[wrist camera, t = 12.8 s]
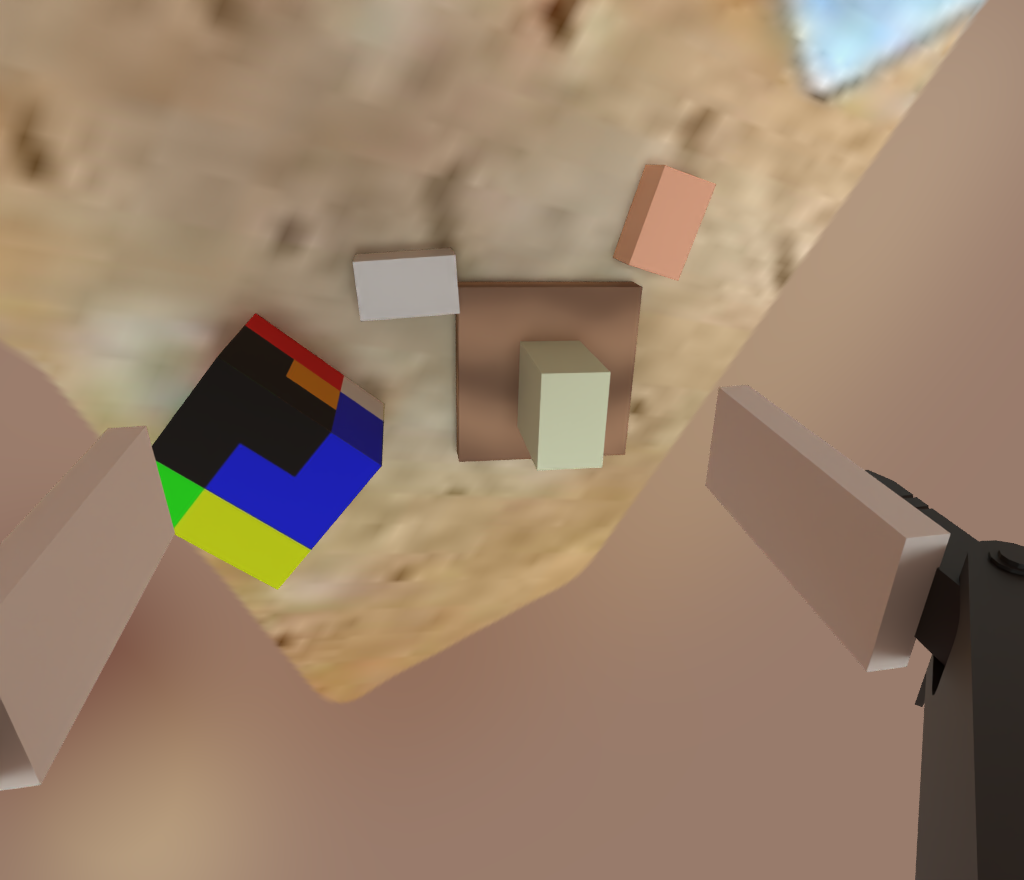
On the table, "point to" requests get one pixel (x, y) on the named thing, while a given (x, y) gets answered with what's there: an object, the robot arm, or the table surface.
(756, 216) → the table surface
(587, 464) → the sage brick
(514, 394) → the walnut slab
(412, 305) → the grey brick
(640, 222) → the terracotta brick
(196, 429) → the puzzle toy
